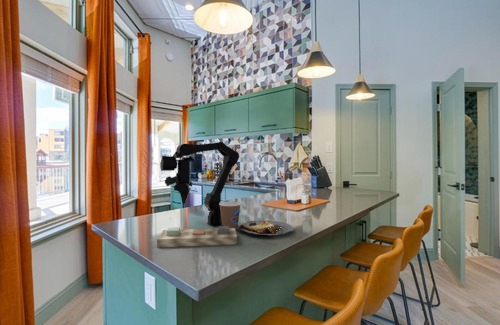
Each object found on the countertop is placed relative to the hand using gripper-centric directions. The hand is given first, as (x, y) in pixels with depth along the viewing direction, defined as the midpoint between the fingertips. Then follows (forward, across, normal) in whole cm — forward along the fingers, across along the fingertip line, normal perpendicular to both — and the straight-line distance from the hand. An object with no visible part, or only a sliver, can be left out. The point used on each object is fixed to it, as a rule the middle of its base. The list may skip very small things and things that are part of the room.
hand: (183, 203), depth 119 cm
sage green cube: (+10, +18, -2) cm, 21 cm away
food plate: (+12, +7, +38) cm, 41 cm away
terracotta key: (+12, +18, +8) cm, 23 cm away
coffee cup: (+12, +2, +22) cm, 25 cm away
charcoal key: (+10, +18, +18) cm, 28 cm away
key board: (+12, +18, +8) cm, 23 cm away
